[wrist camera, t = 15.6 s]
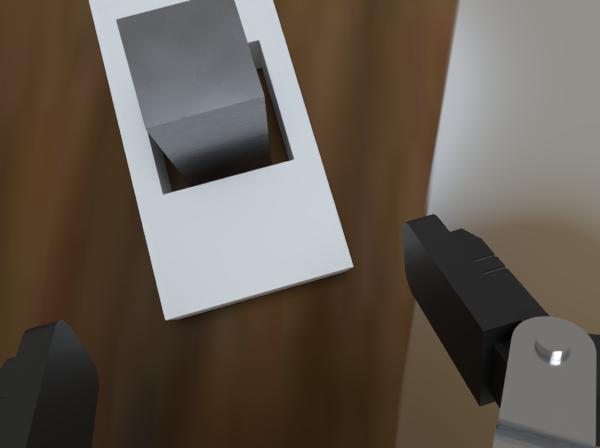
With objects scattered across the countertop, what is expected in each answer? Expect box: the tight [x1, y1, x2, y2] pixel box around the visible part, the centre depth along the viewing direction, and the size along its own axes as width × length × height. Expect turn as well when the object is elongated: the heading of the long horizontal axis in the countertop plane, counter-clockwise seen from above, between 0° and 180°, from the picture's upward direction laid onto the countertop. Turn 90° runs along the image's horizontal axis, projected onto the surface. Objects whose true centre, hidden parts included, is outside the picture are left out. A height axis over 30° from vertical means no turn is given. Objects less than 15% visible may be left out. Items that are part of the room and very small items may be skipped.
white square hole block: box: [89, 0, 353, 320], centre depth 26 cm, size 9×18×3 cm, turn 16°
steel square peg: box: [116, 0, 272, 187], centre depth 23 cm, size 4×4×9 cm
